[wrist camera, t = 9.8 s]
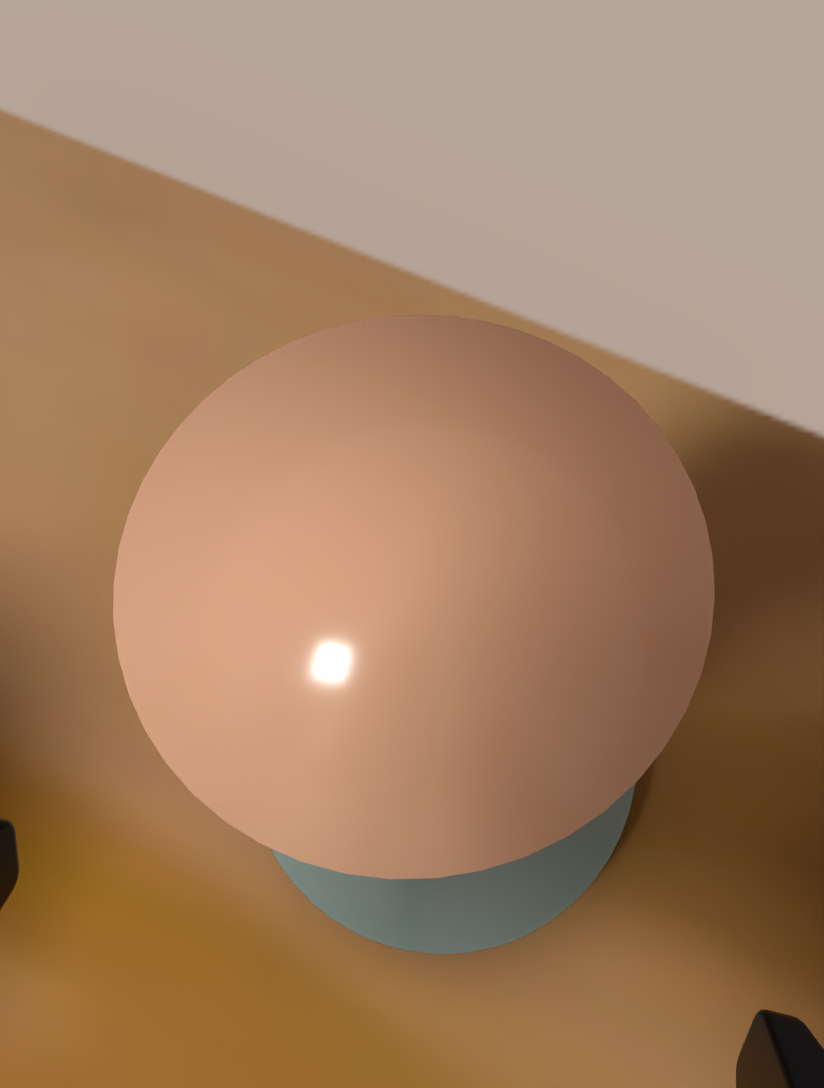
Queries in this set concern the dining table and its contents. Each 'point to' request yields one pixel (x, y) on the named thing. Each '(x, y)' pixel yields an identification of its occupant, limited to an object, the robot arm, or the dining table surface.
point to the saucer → (466, 893)
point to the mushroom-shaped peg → (413, 597)
